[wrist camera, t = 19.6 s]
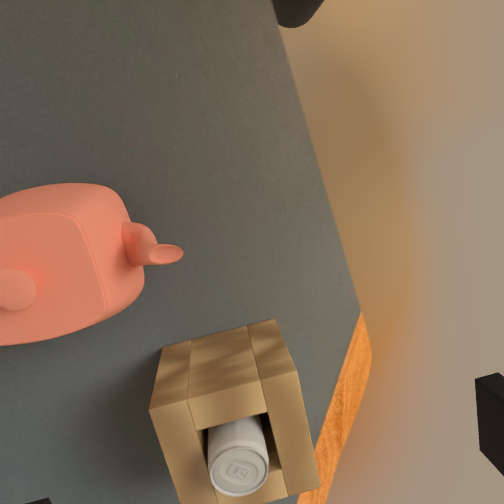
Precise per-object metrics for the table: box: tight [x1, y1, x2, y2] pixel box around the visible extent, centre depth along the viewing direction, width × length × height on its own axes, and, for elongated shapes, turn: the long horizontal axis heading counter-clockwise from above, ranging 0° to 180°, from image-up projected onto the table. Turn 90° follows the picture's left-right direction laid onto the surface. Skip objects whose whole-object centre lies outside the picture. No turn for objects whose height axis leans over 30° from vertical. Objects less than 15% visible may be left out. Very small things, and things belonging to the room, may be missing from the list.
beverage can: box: [208, 414, 269, 497], centre depth 34 cm, size 5×5×12 cm
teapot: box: [0, 183, 183, 346], centre depth 29 cm, size 20×12×12 cm, turn 101°
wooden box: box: [149, 319, 321, 504], centre depth 35 cm, size 12×12×10 cm
